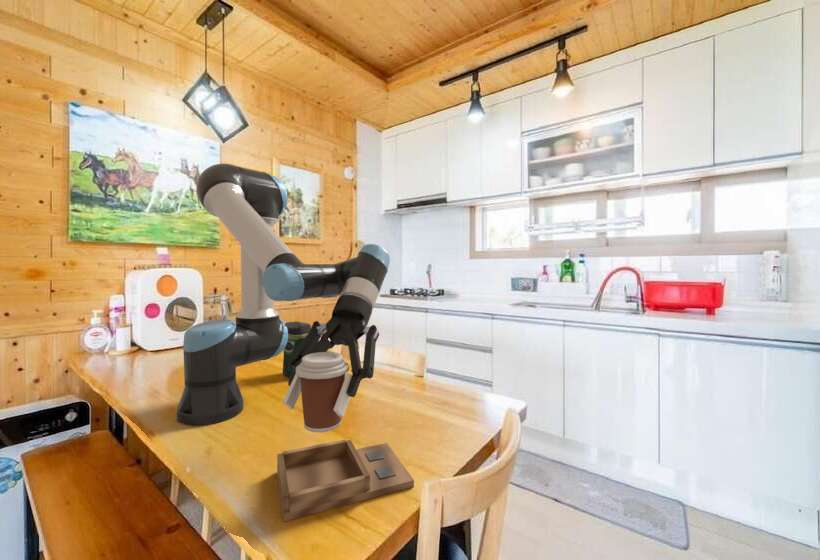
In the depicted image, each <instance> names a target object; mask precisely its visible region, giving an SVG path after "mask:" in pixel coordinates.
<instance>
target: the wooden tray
mask: <svg viewBox="0 0 820 560" xmlns="http://www.w3.org/2000/svg"><path fill="white" fill-rule="evenodd" d="M276 459H277V466H276V467H277V470H276V473H277V481H278V490H279V496H280V498H279V499H280V506H281V514H282V516H281V517H282V522H284V523H285V522H288V521H293V520H295V519H299V518H303V517H307V516H311V515H313V514H318V513H321V512H325V511H330V510H332V509H336V508H341V507H343V506H348V505H350V504H351V505H352V504H354V503H358V502H362V501H366V500H370V499H372V498H377V497H381V496H384V495H388V494H392V493H396V492H399V491H403V490H406V489H411V488H414V487H415V479H414V478H413V476H412V475H411V474H410V473H409V471H408V470H407V468H406V466H405V465H403V462H401V460H400V459H399V458H398V456H397V455H396V453H395V452H394V451H393V449H392V448H391V446H390V445H389V444H388V442H384V443H379V444H375V445H374V444H373V445H370V446H365V447H362V448H356V446H355V445H354V443H353V442H352V440H351V439H348V440H346V439H342V440H337V441H331V442H326V443H321V444H316V445H310V446H305V447H301V448H296V449H295V448H294V449H290V450H285V451H282V453H277V457H276Z"/></svg>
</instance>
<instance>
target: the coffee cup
mask: <svg viewBox="0 0 820 560" xmlns="http://www.w3.org/2000/svg"><path fill="white" fill-rule="evenodd" d="M349 371H350V366H349V364H348V362H346V361H345V360H344V357H343V355H342V354H341V353H338V352H332V351H326V352H318V353H312V354H308V355H306V356H304V357H303V358H302V362H301V363H300V365H298V366H297V367H296V375H297V376H299V377H300V384H301V393H300V395H301V403H302V414H303V424H304V426H303V427H304V429H305V430H306V431H308V432H311V433H327V432H331V431H334V430H336V429H337V428H339V427H340V426H341V425H342V419H343V417H339V416H338V415H337V414H336V412H335V411H334V407H335V404H336V402H337V399H338V396H339V394H340V391H341V388H342V386H343V383H344V380H345V374H348V372H349Z"/></svg>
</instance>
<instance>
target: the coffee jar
mask: <svg viewBox="0 0 820 560" xmlns="http://www.w3.org/2000/svg"><path fill="white" fill-rule="evenodd" d="M285 326H286V327H287V329H288V340H287V344H286V346H285V348H284V350H283V361H282V362H283V363H282V375H283V376H285V377H287V378H291V376H292V373H293V371H294V368H293V367H292V366H291V365H290V364H289V363H288V360H289V359H290V357H291V356H292V355H293V353H294V352H295V351H296V349H297V348H298V347H299V345H300V344H301V343H302V341H303V340H304V338H305V337H306V336H307V334H308V333H309V332H310V330H311V328H312V325H311V324H310V323H307V322H300V321H289V322H285Z"/></svg>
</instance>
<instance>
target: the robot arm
mask: <svg viewBox="0 0 820 560" xmlns="http://www.w3.org/2000/svg"><path fill="white" fill-rule="evenodd" d="M195 190H196V195H197V199H198V200H199V203H200V204H201V205H202V206H203V208H204V209H205V211H206V212H207V213H209V214H210V215H211V216H213V217H216V218H218V219H219V221H220V222H221V223H222V224H223V225H224V227H225V228H226V229H227V230H228V232H230V234H231V235H232V237H234V239H235V240H236V241H237V242H238V244H239V245H240V268H241V269H240V277H241V278H240V283H241V284H240V286H241V288H240V293H241V295H240V296H241V298H240V299H241V300H240V301H241V306H240V307H241V309H240V310H239V311H238V312H237V313H236V314H235V321H234V320H232V319H218V320H208V321H205V322H201V323H197V324H195V325H193V326H191V327H189V328H188V329H186V331H185V332H184V334H183V343H182V350H183V373H184V377H183V378H184V388H183V391H182V394H181V397H180V399H179V403H178V405H177V408H176V420H177V422H178V423H180V424H183V425H187V426H205V425H206V426H207V425H212V424H216V423H221V422H223V421H226V420H227V421H228V420H229V419H232V418H234V417H236V416H238V415H239V414H241V412H242V411H243V410H244V405H245V403H244V402H245V401H244V397H243V394H242V392H241V389H240V387H239V384H238V381H237V367H241V366H246V365H249V364H253V363H256V362H260V361H267V360H269V359H271V358H275V357H277V356H278V355H280V354H281V353H282V352H284V348H285V346H286V344H287V340H288V329H287V327H286V326H285V323H286V322H285V321H284V320H283V319H282V318H280V313H279V312H278V311H277V310H276V309H275V306H274V305H275V304H274V303H275V302H293V301H298V300H305V299H315V298H323V299H329V298H337V297H338V296H339V297H338V298H337V301H336V303H335V305H334V307H333V310H332V312H331V317H330V319H329V320H328V321H327V322H326V323H320V322H319V320H318V321H317V320H315V321H313V323H312V325H311V330H310V332H309V333H308V334H307V336H306V337H305V338H304V340H303V341H302V343H301V344H300V345H299V347H298V348H297V349H296V351H295V352H294V353H293V355H292V356H291V357H290V359H289V360H288V363H289V364H290V365H291V366H292V367H293V368H294V371H293V373H292V376H291V377H289V379H288V383H287V385H288V386H289V387H288V390H287V391H286V394H285V396H284V398H283V400H282V403H283V404H284V405H285V407H287V408H288V409H290V410H294V409H295V406H296V405H297V402H298V399H299V398H300V395H301V384H300V377H299V376H297V375H296V367H297V366H298V365H300V363H301V362H302V358H303V357H304V356H306V355H308V354H312V353H318V352H328V350H329V349H330V350H331V349H333V348H334V347H335V346H341V345H342V346H346V347H348V354H349V360H350V367H351V370H350V371H351V373H352V374H351V373H346V377H345V380H344V383H343V386H342V388H341V391H340V394H339V396H338V399H337V402H336V404H335V407H334V411H335V412H336V414H337V415H338V416H339V417H342V418H344V417H345V414H346V412H347V408H348V405H349V402H350V399H351V398H354V397H356V394H357V393H358V389H359V387H360V383H361V382H362V381H363V379H369V380H370V379H372V378H373V377H374V371H375V370H374V369H375V360H376V359H375V356H376V346H377V345H376V344H377V341H378V338H379V336H380V332H379V330H378V328H377V326H376V325H375V324H372V325H370V326H368V324H369V321H370V319H371V316H372V314H373V310H374V308H375V304H376V301H377V300H378V297H379V294H380V291H381V289H382V285H383V283H384V281H385V278H386V275H387V273H388V271H389V267H390V262H391V257H390V254H389V252H388V251H387V250H386V249H385V248H384V247H383V246H380V245H378V244H375V243H368V244H365V245H363V246H362V247H361V248H360V249H359V251H358V253H357V256H355V257H353V258H350V259H347V260H344V261H341V262H337V263H318V264H317V263H304V262H302V261H301V260H300V259H299V257H297V255H296V254H295V253H294V252H293V251H292V250H291V249H290V248H289V246H287V245H286V243H285V242H284V241H283V240H282V239H281V237H280V236H279V235H278V234H277V233H276V232H275V231H274V227H275V225H277V224H278V222H279V220H280V217H279V216H281V215H282V214H283V213H284V212H285V210H286V208H287V206H288V193H287V188H286V186H285V184H284V182H282V180H281V179H280V178H279V177H277V176H275V175H272V174H270V173H267V172H265V171H258V170H256V169H255V170H254V169H251V168H250V169H249V168H246V167H242V166H238V165H235V164H230V163H217V164H213V165H210V166H209V167H207V168H206V169H204V170H203V171H202V172H201V174H200V175H199V177H198V178H197V182H196V188H195ZM274 301H275V302H274ZM364 335H365V343H364V344H365V345H364V353H363V364H362V363H361V357H360V351H359V349H360V348H359V347H360V346H359V339H360V338H362V337H363V336H364Z"/></svg>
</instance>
